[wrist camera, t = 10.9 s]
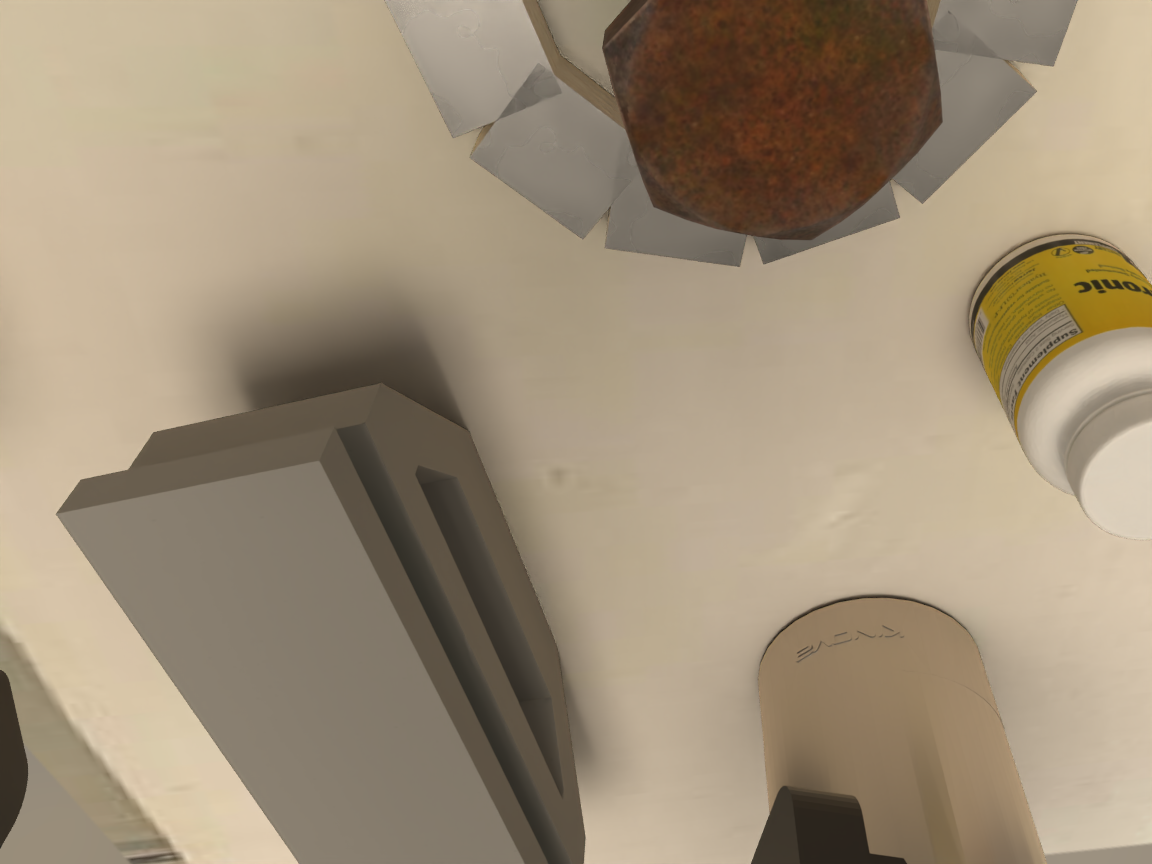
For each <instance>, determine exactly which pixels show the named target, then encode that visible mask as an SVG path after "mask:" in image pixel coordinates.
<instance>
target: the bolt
mask: <svg viewBox="0 0 1152 864" xmlns="http://www.w3.org/2000/svg"><path fill="white" fill-rule="evenodd" d="M602 49H603V53H604V56H605V60H606V64H607V68H608V72H609V76H610V80H611V84H612V88H613V91H614V95H615V98H616V101H617V105H618V108H619V111H620V115H621V118H622V121H623V124H624V127H625V130H626V133H627V136H628V139H629V142H630V145H631V148H632V151H633V154H634V157H635V160H636V163H637V166H638V169H639V172H640V175H641V178H642V181H643V183H644V186H645V188H646V190H647V193H648V195H649V198H650V200H651V202H652V205H653V207H654V208H657V209H660V210H662V211H665V212H667V213H670V214H672V215H675V216H677V217H680V218H683V219H685V220H688V221H691V222H694V223H698V224H701V225H704V226H707V227H711V228H714V229H718V230H724V231H729V232H734V233H739V234H745V235H751V236H756V237H764V238H771V239H779V240H813V239H815V238H816V237H818V236H819V235H821V234H823V233H824V232H826V231H828V230H829V229H831V228H832V227H834V226H836V225H837V224H839V223H840V222H842V221H843V220H844V219H846V218H847V217H848V216H850V215H851V214H853V213H854V212H855V211H857V210H858V209H859V208H861V207H862V206H863V205H864V204H865V203H867V202H868V201H869V200H870V199H871V198H872V197H873V196H874V195H875V194H876V193H877V192H879V191H880V190H881V189H882V188H883V187H884V186H885V185H886V184H887V183H888V182H889V181H890V180H891V179H892V178H893V177H894V176H896V175H897V174H898V173H899V172H900V171H901V170H902V169H903V168H904V167H905V165H906V164H907V163H908V162H909V161H910V160H911V159H912V158H913V157H914V156H915V155H916V154H917V153H918V152H919V151H920V150H921V148H922V147H923V146H924V145H925V143H926V142H927V141H928V140H929V139H930V137H931V136H932V135H933V134H934V132H935V131H936V130H937V129H938V128H939V126H940V125H941V124H942V123H943V117H942V101H941V89H940V82H939V75H938V68H937V61H936V54H935V47H934V40H933V33H932V26H931V20H930V15H929V10H928V4H927V0H631V1H630V2H629V3H628V5H627V6H626V7H625V8H624V9H623V10H622V12H621V13H620V14H619V15H618V16H617V17H616V18H615V20H614V21H613V22H612V23H611V24H610V25H609V27H608V28H607V29H606V30H605V34H604V41H603V48H602Z"/></svg>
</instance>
